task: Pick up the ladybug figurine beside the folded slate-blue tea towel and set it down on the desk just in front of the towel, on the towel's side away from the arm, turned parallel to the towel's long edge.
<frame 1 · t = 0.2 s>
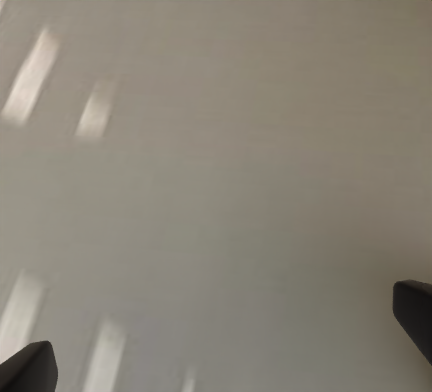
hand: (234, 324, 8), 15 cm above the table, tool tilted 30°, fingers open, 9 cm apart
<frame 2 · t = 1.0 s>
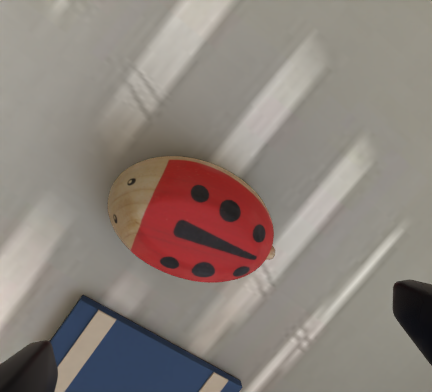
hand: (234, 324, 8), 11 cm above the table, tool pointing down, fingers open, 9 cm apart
ladybug figurine: (192, 215, 19), on the table
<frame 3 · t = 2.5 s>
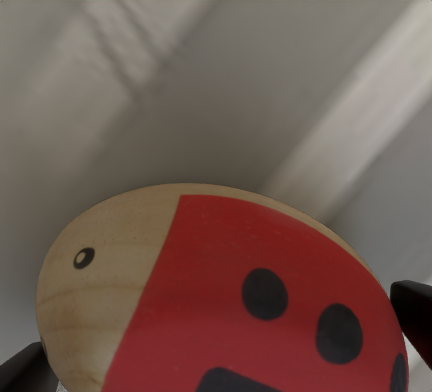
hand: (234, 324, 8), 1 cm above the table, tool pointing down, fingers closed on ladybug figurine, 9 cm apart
ladybug figurine: (223, 297, 10), on the table, touching gripper
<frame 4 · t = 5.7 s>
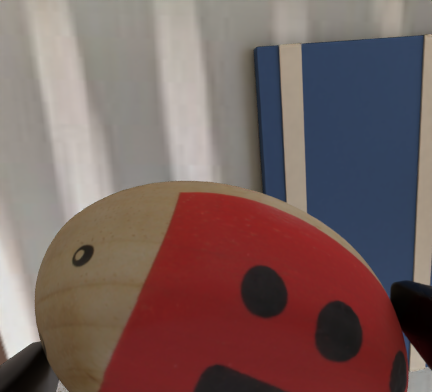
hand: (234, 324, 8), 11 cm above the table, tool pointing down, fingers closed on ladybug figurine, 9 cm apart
towel: (356, 228, 20), on the table
ladybug figurine: (223, 296, 9), point 9 cm above the table, touching gripper
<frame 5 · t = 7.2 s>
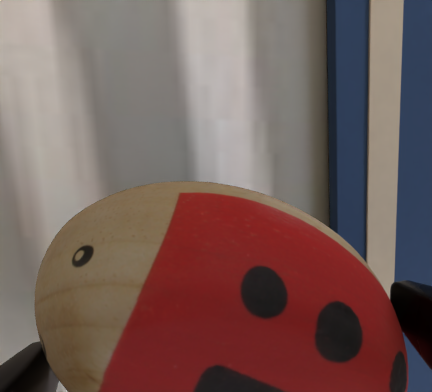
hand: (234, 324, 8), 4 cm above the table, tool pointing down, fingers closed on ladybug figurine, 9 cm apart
ladybug figurine: (223, 296, 9), point 3 cm above the table, touching gripper
when the fingers open (1 cm above the table, at t = 8.8 s): ladybug figurine stays where it is, on the table.
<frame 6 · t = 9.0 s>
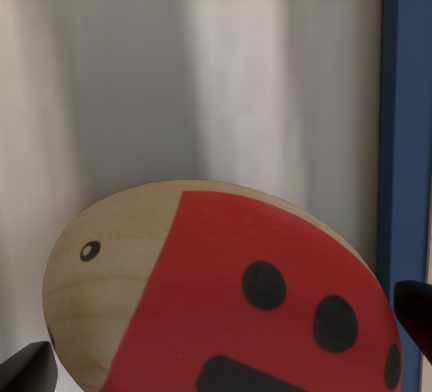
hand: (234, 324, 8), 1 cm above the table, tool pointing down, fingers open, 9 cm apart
ladybug figurine: (223, 292, 10), on the table, touching gripper
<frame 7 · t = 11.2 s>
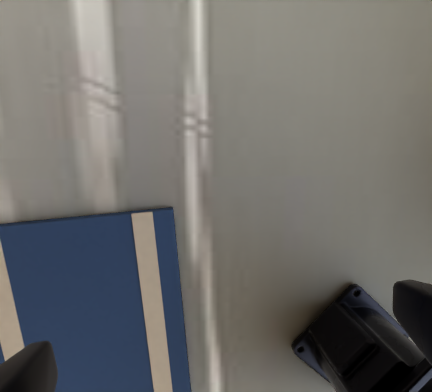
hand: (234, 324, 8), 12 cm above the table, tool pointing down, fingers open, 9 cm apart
towel: (97, 377, 21), on the table
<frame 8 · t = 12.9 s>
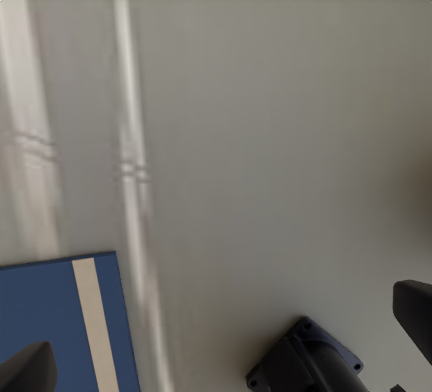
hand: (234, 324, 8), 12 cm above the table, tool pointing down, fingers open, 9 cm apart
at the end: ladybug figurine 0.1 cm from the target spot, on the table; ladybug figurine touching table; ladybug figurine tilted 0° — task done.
